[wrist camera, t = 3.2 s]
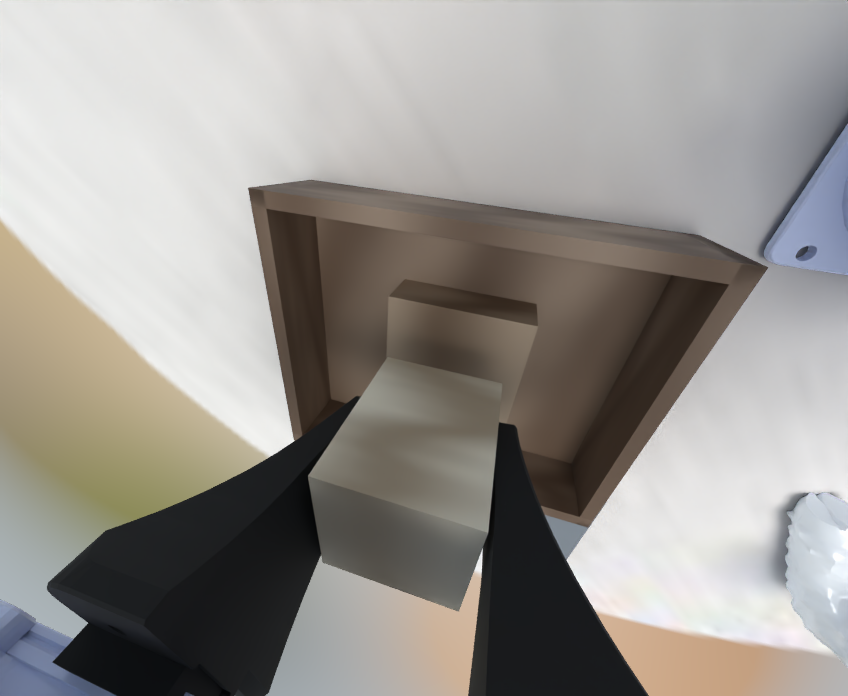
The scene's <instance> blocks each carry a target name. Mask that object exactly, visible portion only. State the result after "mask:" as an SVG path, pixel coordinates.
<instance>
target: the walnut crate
mask: <svg viewBox="0 0 848 696" xmlns="http://www.w3.org/2000/svg"><path fill="white" fill-rule="evenodd" d="M248 190H249V195H250V201H251V206H252V212H253V217H254V223H255V228H256V234H257V239H258V245H259V250H260V256H261V261H262V267H263V272H264V278H265V283H266V289H267V294H268V300H269V305H270V311H271V316H272V322H273V327H274V333H275V338H276V344H277V349H278V355H279V360H280V366H281V371H282V377H283V382H284V388H285V393H286V399H287V404H288V410H289V415H290V421H291V426H292V432H293V437H294V440H295V441H296V440H297V439H299V438H300V437H302V436H303V435H304V434H306V433H307V432H309V431H310V430H311V429H313V428H314V427H315V426H317V425H318V424H320V423H321V422H322V421H324V420H325V419H326V418H328V417H329V416H330V415H332V414H333V413H334V412H336V411H337V410H338V409H340V408H341V407H342V406H343V405H345V404H346V403H347V402H349V401H350V400H352V399H353V398H354V397H356V396H362V395H363V393H364V392H365V390H366V389H367V387H368V386H369V384H370V383H371V381H372V380H373V378H374V377H375V375H376V374H377V372H378V371H379V369H380V368H381V366H382V365H383V363H384V362H385V360H386V359H387V357H390V358H394V359H398V360H403V361H407V362H411V363H416V364H420V365H424V366H429V367H433V368H437V369H442V370H446V371H450V372H455V373H459V374H463V375H468V376H472V377H476V378H481V379H485V380H489V381H494V382H498V383H502V394H501V404H500V415H499V422H501V423H506V424H512V425H515V426H516V428H517V431H518V437H519V442H520V446H521V450H522V454H523V457H524V461H525V464H526V467H527V470H528V473H529V476H530V479H531V482H532V484H533V487H534V490H535V493H536V495H537V498H538V500H539V503H540V505H541V507H542V510H543V512H544V515H547V516H550V517H554V518H557V519H560V520H564V521H567V522H571V523H574V524H577V525H581V526H584V527H587V528H588V527H589V526H590V524H591V523H592V521H593V520H594V519H595V517H596V516H597V514H598V513H599V511H600V510H601V508H602V507H603V506H604V504H605V503H606V501H607V500H608V498H609V497H610V495H611V494H612V493H613V491H614V490H615V488H616V487H617V485H618V484H619V482H620V481H621V479H622V478H623V477H624V475H625V474H626V472H627V471H628V469H629V468H630V466H631V465H632V464H633V462H634V461H635V459H636V458H637V456H638V455H639V453H640V452H641V451H642V449H643V448H644V446H645V445H646V443H647V442H648V440H649V439H650V438H651V436H652V435H653V433H654V432H655V430H656V429H657V427H658V426H659V425H660V423H661V422H662V420H663V419H664V417H665V416H666V414H667V413H668V412H669V410H670V409H671V407H672V406H673V404H674V403H675V401H676V400H677V399H678V397H679V396H680V394H681V393H682V391H683V390H684V388H685V387H686V386H687V384H688V383H689V381H690V380H691V378H692V377H693V375H694V374H695V373H696V371H697V370H698V368H699V367H700V365H701V364H702V362H703V361H704V360H705V358H706V357H707V355H708V354H709V352H710V351H711V349H712V348H713V347H714V345H715V344H716V342H717V341H718V339H719V338H720V336H721V335H722V334H723V332H724V331H725V329H726V328H727V326H728V325H729V323H730V322H731V321H732V319H733V318H734V316H735V315H736V313H737V312H738V310H739V309H740V308H741V306H742V305H743V303H744V302H745V300H746V299H747V297H748V296H749V294H750V293H751V292H752V290H753V289H754V287H755V286H756V284H757V283H758V281H759V280H760V279H761V277H762V276H763V274H764V273H765V271H766V270H767V268H768V267H766V266H764V265H762V264H760V263H758V262H756V261H753V260H751V259H749V258H747V257H745V256H743V255H741V254H738V253H736V252H734V251H732V250H730V249H728V248H726V247H724V246H721V245H719V244H717V243H715V242H713V241H711V240H709V239H707V238H704V237H702V236H699V235H692V234H685V233H678V232H671V231H664V230H657V229H650V228H643V227H636V226H629V225H622V224H615V223H608V222H601V221H594V220H587V219H580V218H573V217H566V216H559V215H552V214H545V213H538V212H531V211H524V210H517V209H510V208H503V207H496V206H489V205H482V204H475V203H468V202H461V201H454V200H447V199H440V198H433V197H426V196H419V195H412V194H405V193H398V192H391V191H384V190H377V189H370V188H363V187H356V186H349V185H342V184H335V183H328V182H321V181H314V180H307V181H299V182H291V183H283V184H275V185H267V186H259V187H251V188H248Z"/></svg>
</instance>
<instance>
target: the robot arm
mask: <svg viewBox="0 0 848 696" xmlns="http://www.w3.org/2000/svg"><path fill="white" fill-rule="evenodd" d="M805 246H808V247H809V248H808V251H807V252H806V253H805V254H804V255H803V256H800V257H798V258H796V254H797V252H798V251H799V250H800V249H801V248H803V247H805ZM764 257H765V258H766V259H767V260H768V261H770V262H772V263H775V264H777V265H783V266H790V267H796V268H803V269H809V270H816V271H823V272H829V273H836V274H842V275H848V124H847V125H846V127H845V128H844V130H843V131H842V133H841V134H840V136H839V137H838V139H837V140H836V142H835V143H834V145H833V146H832V148H831V149H830V151H829V152H828V154H827V155H826V157H825V158H824V160H823V161H822V163H821V164H820V166H819V167H818V169H817V170H816V172H815V173H814V175H813V176H812V178H811V179H810V181H809V182H808V184H807V186H806V187H805V189H804V190H803V192H802V193H801V195H800V196H799V198H798V199H797V201H796V202H795V204H794V205H793V207H792V208H791V210H790V211H789V213H788V214H787V216H786V217H785V219H784V220H783V222H782V223H781V225H780V226H779V228H778V229H777V231H776V232H775V234H774V235H773V237H772V238H771V240H770V241H769V243H768V244H767V246H766V248H765V250H764ZM360 398H361V396H356V397H354V398H353V399H352V400H350V401H349V402H347V403H346V404H345V405H343V406H342V407H341V408H340V409H338V410H337V411H336V412H334V413H333V414H332V415H330V416H329V417H328V418H326V419H325V420H324V421H322V422H321V423H320V424H318V425H317V426H315V427H314V428H313V429H311V430H310V431H309V432H307V433H306V434H304V435H303V436H302V437H300V438H299V439H297V440H296V441H294V442H293V443H291V444H290V445H288V446H287V447H285V448H284V449H282V450H281V451H279V452H277V453H276V454H274V455H273V456H271V457H269V458H268V459H266V460H264V461H263V462H261V463H259V464H257V465H256V466H254V467H252V468H250V469H249V470H247V471H245V472H243V473H241V474H239V475H237V476H235V477H233V478H231V479H229V480H227V481H225V482H223V483H221V484H219V485H217V486H215V487H213V488H211V489H209V490H207V491H205V492H203V493H200V494H198V495H196V496H194V497H192V498H189V499H187V500H185V501H182V502H180V503H178V504H175V505H173V506H171V507H168V508H166V509H163V510H161V511H158V512H156V513H153V514H150V515H147V516H145V517H142V518H140V519H137V520H134V521H131V522H129V523H126V524H123V525H121V526H118V527H115V528H112V529H109V530H107V531H105V532H104V533H103V534H102V535H101V536H100V537H98V538H97V539H96V540H95V541H94V542H93V543H92V544H90V545H89V546H88V547H87V548H86V549H85V550H84V551H83V552H82V553H81V554H80V555H78V556H77V557H76V558H75V559H74V560H73V561H72V562H71V563H70V564H68V565H67V566H66V567H65V568H64V569H63V570H62V571H61V572H59V573H58V574H57V575H56V576H55V577H54V578H53V579H52V580H51V581H50V582H48V586H47V590H48V592H50V594H51V595H52V596H54V597H55V598H56V599H57V600H59V601H60V602H61V603H63V604H64V605H65V606H66V607H68V608H69V609H70V610H72V611H74V612H75V613H76V614H77V615H79V616H80V617H81V618H83V619H84V620H85V621H87V622H88V624H87V625H86V626H85V627H84V628H83V630H82V631H81V632H80V633H79V634H78V635H77V636H76V637H75V638H74V639H72V638H70V637H68V636H66V635H64V634H62V633H60V632H57V631H55V630H53V629H51V628H49V627H47V626H45V625H42V624H40V623H38V622H36V619H35V618H34V617H32V616H31V615H29V614H28V613H26V612H24V611H23V610H21V609H19V608H17V607H16V606H14V605H12V604H10V603H8V602H5V601H3V600H1V599H0V696H265V695H266V694H268V693H269V690H270V687H271V684H272V681H273V678H274V675H275V672H276V670H277V667H278V664H279V661H280V659H281V656H282V653H283V650H284V647H285V645H286V642H287V639H288V636H289V633H290V631H291V628H292V625H293V623H294V620H295V618H296V615H297V613H298V610H299V607H300V604H301V602H302V599H303V597H304V594H305V592H306V590H307V587H308V585H309V582H310V580H311V577H312V575H313V572H314V570H315V567H316V565H317V562H318V560H319V558H320V556H321V550H320V544H319V538H318V532H317V526H316V521H315V515H314V509H313V503H312V497H311V491H310V485H309V480H308V475H309V474H310V472H311V471H312V469H313V468H314V466H315V465H316V463H317V462H318V460H319V459H320V457H321V456H322V454H323V453H324V451H325V450H326V448H327V447H328V445H329V444H330V442H331V441H332V439H333V438H334V436H335V435H336V433H337V432H338V430H339V429H340V427H341V426H342V424H343V423H344V421H345V420H346V418H347V417H348V415H349V414H350V413H351V411H352V410H353V408H354V407H355V405H356V404H357V402H358V401H359V399H360ZM468 696H649V695H648V694H647V692H646V691H645V690H644V688H643V686H642V685H641V683H640V682H639V680H638V679H637V677H636V676H635V674H634V673H633V671H632V670H631V668H630V667H629V665H628V664H627V662H626V661H625V660H624V658H623V656H622V655H621V653H620V651H619V650H618V648H617V646H616V645H615V643H614V642H613V640H612V639H611V637H610V636H609V634H608V632H607V631H606V629H605V627H604V626H603V624H602V622H601V621H600V619H599V617H598V616H597V614H596V612H595V610H594V609H593V607H592V605H591V604H590V602H589V600H588V598H587V597H586V595H585V593H584V592H583V590H582V588H581V586H580V585H579V583H578V581H577V579H576V578H575V576H574V574H573V572H572V570H571V568H570V566H569V564H568V563H567V561H566V559H565V557H564V555H563V553H562V551H561V549H560V547H559V545H558V543H557V541H556V539H555V537H554V535H553V532H552V530H551V528H550V526H549V524H548V521H547V519H546V517H545V515H544V512H543V510H542V507H541V505H540V503H539V500H538V498H537V495H536V493H535V490H534V487H533V484H532V482H531V479H530V476H529V473H528V470H527V467H526V464H525V461H524V457H523V454H522V450H521V446H520V442H519V437H518V431H517V428H516V426H515V425H512V424H506V423H501V422H499V425H498V436H497V446H496V457H495V467H494V477H493V488H492V498H491V509H490V519H489V530H488V535H487V537H486V540H485V543H484V545H483V560H482V578H481V588H480V598H479V606H478V616H477V625H476V633H475V642H474V651H473V659H472V668H471V677H470V685H469V694H468Z"/></svg>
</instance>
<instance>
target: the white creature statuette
mask: <svg viewBox="0 0 848 696" xmlns="http://www.w3.org/2000/svg"><path fill="white" fill-rule="evenodd" d="M787 514H788V515H789V517H790V519H791V521H792V522H791V525H789V526H788V529H789V534H790V535H789V537H788V539H787V541H786V546H787V548H788V552H787V554H786V555H785V561H786V563H787V566H788V568H787V571H786V573H785V576H786V578H787V582H786V588H787V589H788V590H789V592H790V593H791V595H792V598H793V599H792V602H791V604H792V607H793V609H794V611H795V612H796V613H797V614H798V615H799V616H800V617H801V619H802V621H803V624H804V627H805V628H806V629H807V630H809V631H810V632H812V633H813V634H814V636H815V637H816V638H817V639H818V640H819V641H820V642H821V643H823V644H824V645H826V646H827V647H828V648H830V649H831V650H832V651H833V652H834V653H835V654H836V656H837V657H838V658H839V659H840V660H841V662H842V663H843V664H844V665H845V666H846V667H848V503H847V502H845V501H843V500H842V499H840V498H838V497H835V496H833V495H831V494H829V493H821V494H819V495H817V496H816V495H815V494H814V493H809V494H808V495H807V496H805V497H802V498H801V499H799V501H798V503H797V504H796V506H795V508H794V509H793V510H792V511H787Z"/></svg>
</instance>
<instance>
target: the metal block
mask: <svg viewBox="0 0 848 696" xmlns="http://www.w3.org/2000/svg"><path fill="white" fill-rule="evenodd" d="M501 394H502V383H498V382H494V381H489V380H485V379H481V378H476V377H472V376H468V375H463V374H459V373H455V372H450V371H446V370H442V369H437V368H433V367H429V366H424V365H420V364H416V363H411V362H407V361H403V360H398V359H394V358H390V357H387V359H386V360H385V362H384V363H383V365H382V366H381V368H380V369H379V371H378V372H377V374H376V375H375V377H374V378H373V380H372V381H371V383H370V384H369V386H368V387H367V389H366V390H365V392H364V393H363V395H362V396H361V398H360V399H359V401H358V402H357V404H356V405H355V407H354V408H353V410H352V411H351V413H350V414H349V415H348V417H347V418H346V420H345V421H344V423H343V424H342V426H341V427H340V429H339V430H338V432H337V433H336V435H335V436H334V438H333V439H332V441H331V442H330V444H329V445H328V447H327V448H326V450H325V451H324V453H323V454H322V456H321V457H320V459H319V460H318V462H317V463H316V465H315V466H314V468H313V469H312V471H311V472H310V474H309V475H308V480H309V485H310V491H311V497H312V503H313V509H314V515H315V521H316V526H317V532H318V538H319V544H320V550H321V556H322V562H323V563H326V564H328V565H331V566H334V567H337V568H340V569H342V570H345V571H348V572H351V573H353V574H356V575H359V576H362V577H364V578H367V579H370V580H373V581H376V582H378V583H381V584H384V585H387V586H389V587H392V588H395V589H398V590H400V591H403V592H406V593H409V594H412V595H414V596H417V597H420V598H423V599H425V600H428V601H431V602H434V603H437V604H439V605H442V606H445V607H447V608H450V609H453V610H456V611H459V609H460V607H461V604H462V601H463V599H464V596H465V593H466V591H467V588H468V585H469V583H470V580H471V577H472V575H473V572H474V569H475V567H476V564H477V561H478V559H479V556H480V553H481V551H482V548H483V545H484V543H485V540H486V537H487V535H488V530H489V519H490V509H491V498H492V488H493V477H494V467H495V457H496V446H497V436H498V425H499V415H500V404H501Z"/></svg>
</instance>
